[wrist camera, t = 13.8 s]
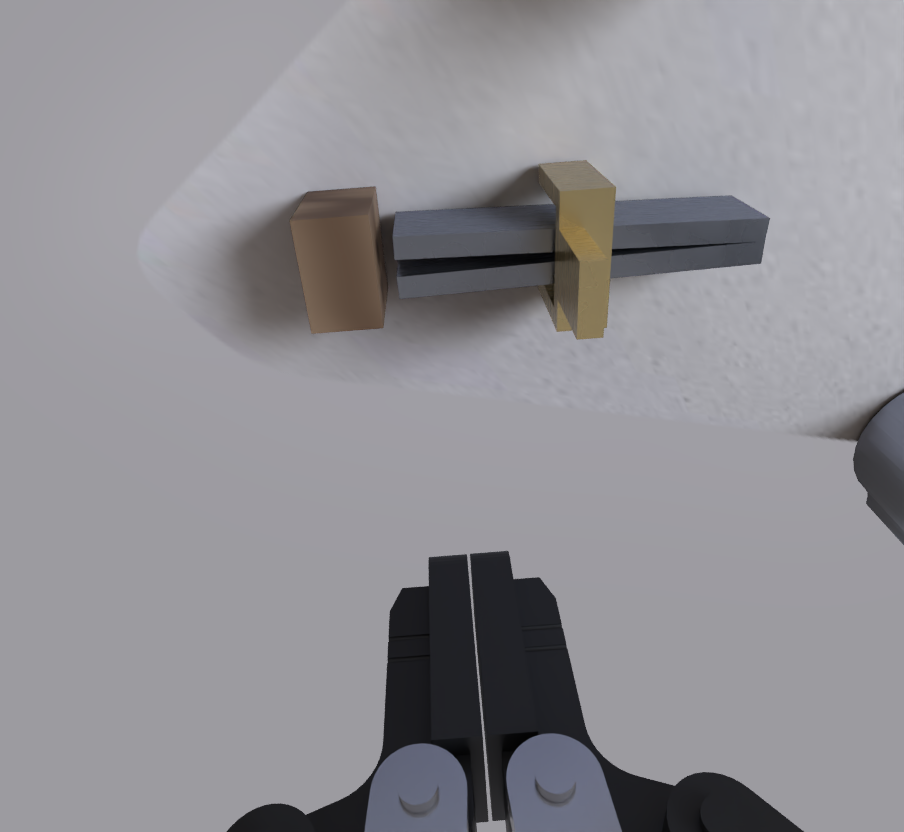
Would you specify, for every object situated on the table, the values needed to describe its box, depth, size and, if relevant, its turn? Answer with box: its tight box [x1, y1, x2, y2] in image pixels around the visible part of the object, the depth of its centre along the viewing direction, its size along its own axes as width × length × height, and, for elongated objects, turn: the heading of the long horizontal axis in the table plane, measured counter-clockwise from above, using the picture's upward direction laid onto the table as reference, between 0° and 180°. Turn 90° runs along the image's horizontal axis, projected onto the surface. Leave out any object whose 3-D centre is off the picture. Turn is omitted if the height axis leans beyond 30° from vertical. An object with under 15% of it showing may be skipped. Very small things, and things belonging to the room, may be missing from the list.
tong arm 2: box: [393, 195, 770, 260], centre depth 29 cm, size 16×1×4 cm, turn 92°
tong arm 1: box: [397, 241, 765, 299], centre depth 30 cm, size 16×1×4 cm, turn 95°
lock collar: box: [538, 160, 616, 339], centre depth 28 cm, size 2×6×9 cm, turn 4°
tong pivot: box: [290, 187, 388, 334], centre depth 30 cm, size 3×5×5 cm, turn 4°
